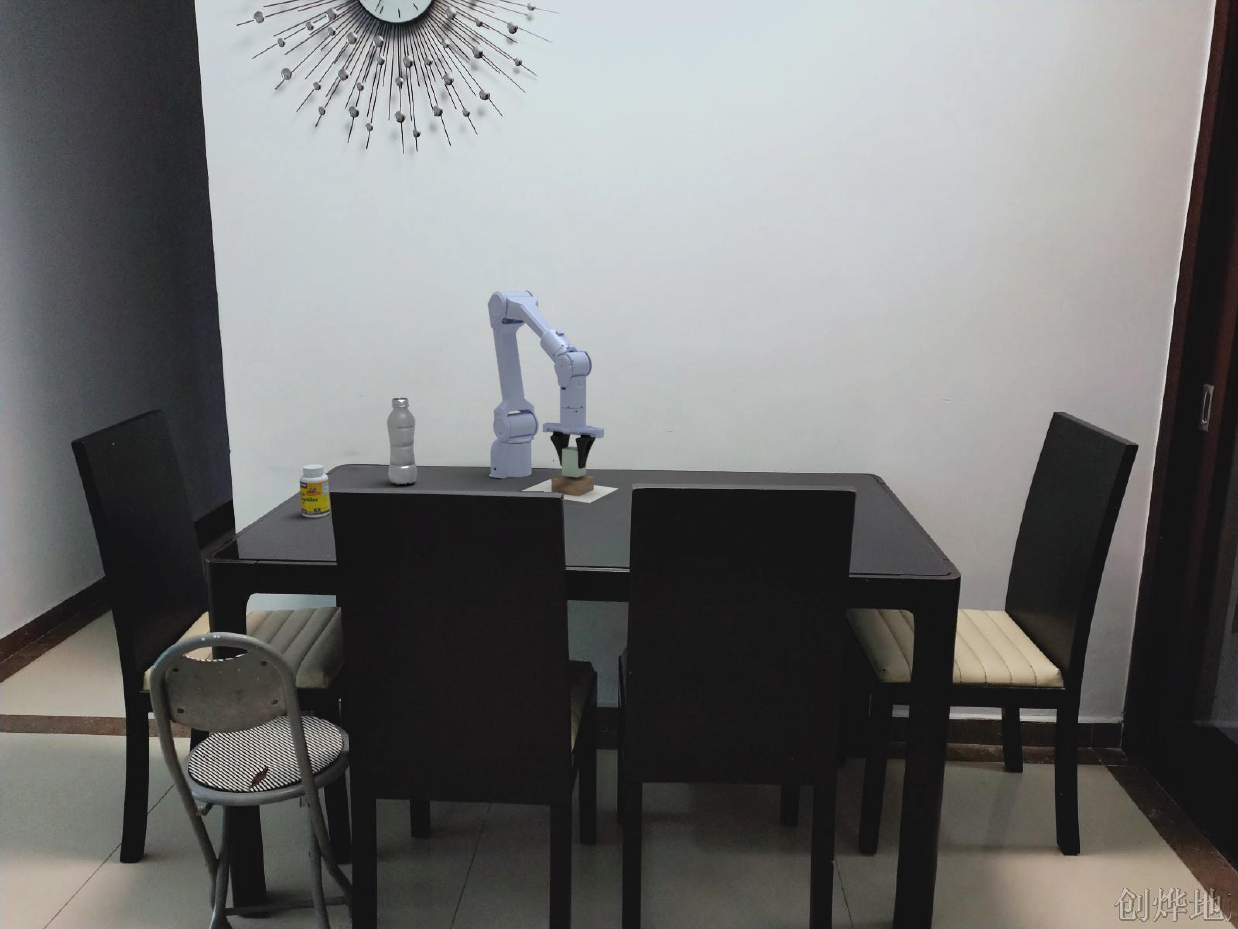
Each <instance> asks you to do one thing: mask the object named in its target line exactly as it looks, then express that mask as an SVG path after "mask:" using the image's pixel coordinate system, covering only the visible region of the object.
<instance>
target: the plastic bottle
mask: <svg viewBox="0 0 1238 929" xmlns="http://www.w3.org/2000/svg"><path fill="white" fill-rule="evenodd" d="M391 407H392V408H393V409H392V410H391V412H390V413H389V415H388V417H387V420H386V427H387V433H388V438H389V449H390V452H389V465H388V473H387V474H388V477H389V481H390V482H391V483H392V484H393V483H395V485H400V484H405V485H408V484H407V483H409V484H413V483H414V482H415V481H416V480H417V477H418V476H417V475H418V470H417V464H416V459H415V451H414V449H415V447H414V444H415V443H414V442H415V441H414V440H415V429H416V419H415V416H414V415H413V413H412V411H410V410H409V408H408V407H410V404H409V398H408V397H393V398H391Z"/></svg>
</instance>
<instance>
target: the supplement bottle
mask: <svg viewBox="0 0 1238 929" xmlns="http://www.w3.org/2000/svg"><path fill="white" fill-rule="evenodd" d="M329 486H330V485H329V477H328V475H327V474H325V472H324V465H322V464H318V463H317V464H307V465H304V466H302V475H301V476H300V477H299V491H300V492H299V493H300V509H301V515H302V516H303V517H305V518H309V519H312V518H322V517H323V518H324V517H326V516H328V515H329V514H330V511H331V506H330V489H329V488H330V487H329Z"/></svg>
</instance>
